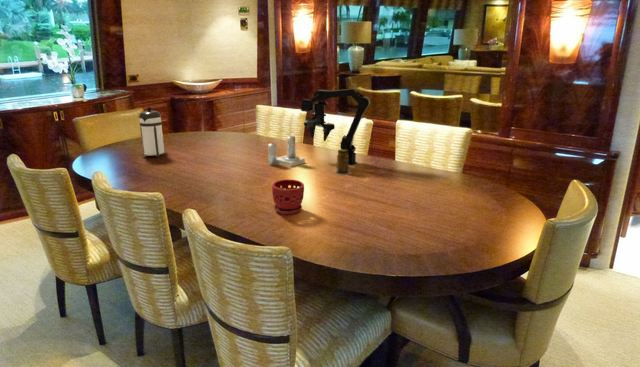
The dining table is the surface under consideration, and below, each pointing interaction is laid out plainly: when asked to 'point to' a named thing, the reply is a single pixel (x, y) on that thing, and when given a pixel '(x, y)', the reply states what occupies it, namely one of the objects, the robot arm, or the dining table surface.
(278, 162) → the scale
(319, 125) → the robot arm
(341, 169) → the condiment
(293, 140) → the shiny silver cylinder
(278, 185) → the plant pot
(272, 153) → the cylinder
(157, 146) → the coffee press
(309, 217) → the dining table surface
